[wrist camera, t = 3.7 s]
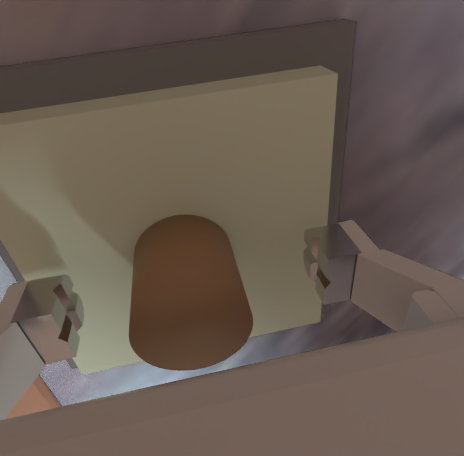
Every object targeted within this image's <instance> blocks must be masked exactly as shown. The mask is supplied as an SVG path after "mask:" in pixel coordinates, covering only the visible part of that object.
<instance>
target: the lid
mask: <svg viewBox="0 0 464 456" xmlns="http://www.w3.org/2000/svg"><path fill="white" fill-rule="evenodd" d="M337 80H338V73H336V72H333V71H331V70H329V69H327V68H325V67H323V66H321V65H319V66H313V67H306V68H299V69H293V70H286V71H279V72H273V73H266V74H259V75H253V76H246V77H239V78H233V79H226V80H220V81H213V82H206V83H200V84H193V85H186V86H180V87H173V88H166V89H160V90H153V91H146V92H140V93H133V94H126V95H120V96H113V97H107V98H100V99H93V100H87V101H80V102H73V103H67V104H60V105H53V106H47V107H40V108H33V109H27V110H20V111H14V112H7V113H0V240H1V242H2V243H3V245H4V247H5V248H6V250H7V251H8V253H9V255H10V256H11V258H12V260H13V261H14V263H15V265H16V266H17V268H18V270H19V271H20V273H21V275H22V276H23V278H24V279H25V281H31V280H35V279H41V278H47V277H53V276H59V275H65V274H66V275H68V276H69V277H70V278H71V280H72V282H73V288H72V291H73V292H75V293H77V294H78V295H79V296H80V298H81V300H82V304H83V307H84V321H83V326H82V327H81V328H80V329H79V330H78V331H77V333H78V335H79V337H80V341H79V345H78V350H77V355H76V357H74V358H73V360H74V362H75V363H76V365H77V367H78V368H79V370H80V372H81V373H82V375H85V374H89V373H94V372H98V371H103V370H107V369H112V368H116V367H121V366H125V365H130V364H134V363H139V362H143V361H145V362H147V363H149V364H151V365H153V366H156V367H159V368H163V369H169V370H194V369H200V368H204V367H208V366H211V365H214V364H217V363H219V362H221V361H223V360H225V359H227V358H229V357H230V356H232V355H233V354H234V353H236V352H237V351H238V350H239V349H240V348H241V347H242V346H243V345H244V344H245V343H246V341H247V340H248V338H251V337H256V336H260V335H265V334H269V333H274V332H278V331H283V330H287V329H292V328H296V327H301V326H305V325H310V324H314V323H319V322H320V321H321V307H322V301H321V299H320V297H319V295H318V293H317V291H316V290H315V288H316V282H314V281H312V280H310V278H309V276H308V274H307V272H306V269H305V265H304V250H305V248H306V247H307V245H306V243H305V241H304V233H305V229H310V228H315V227H321V226H326V225H327V222H328V208H329V194H330V179H331V165H332V151H333V137H334V123H335V109H336V95H337Z"/></svg>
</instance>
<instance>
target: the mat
mask: <svg viewBox="0 0 464 456" xmlns="http://www.w3.org/2000/svg"><path fill="white" fill-rule="evenodd" d="M355 31H356V21H352V20H346V19H341V20H334V21H327V22H319V23H312V24H305V25H298V26H290V27H283V28H276V29H269V30H262V31H254V32H247V33H240V34H233V35H225V36H218V37H211V38H204V39H197V40H189V41H182V42H175V43H168V44H160V45H153V46H146V47H139V48H132V49H124V50H117V51H110V52H103V53H95V54H88V55H81V56H74V57H67V58H59V59H52V60H45V61H38V62H30V63H23V64H16V65H9V66H1V67H0V113H7V112H14V111H20V110H27V109H33V108H40V107H47V106H53V105H60V104H67V103H73V102H80V101H87V100H93V99H100V98H107V97H113V96H120V95H126V94H133V93H140V92H146V91H153V90H160V89H166V88H173V87H180V86H186V85H193V84H200V83H206V82H213V81H220V80H226V79H233V78H239V77H246V76H253V75H259V74H266V73H273V72H279V71H286V70H293V69H299V68H306V67H313V66H319V65H321V66H323V67H325V68H327V69H329V70H331V71H333V72H336V73H338V80H337V95H336V109H335V123H334V137H333V151H332V165H331V179H330V194H329V208H328V222H327V225H331V224H336V223H338V216H339V205H340V194H341V183H342V173H343V162H344V151H345V140H346V129H347V118H348V107H349V96H350V85H351V74H352V64H353V53H354V42H355ZM0 255H1V257H2V258H3V260H4V262H5V263H6V265H7V266H8V268H9V270H10V271H11V273H12V274H13V276H14V278H15V279H16V281H17V282H24V281H25V279H24V278H23V276H22V275H21V273H20V271H19V270H18V268H17V266H16V265H15V263H14V261H13V260H12V258H11V256H10V255H9V253H8V251H7V250H6V248H5V247H4V245H3V243H2V242H1V240H0ZM327 312H330V304H325V305H324V304H323V302H322V307H321V314H322V313H327ZM66 360H67V362H68V364H69V365H70V367H71V368H72V369H73V368H77V365H76V363H75V362H74V360H73V358H70V359H66Z"/></svg>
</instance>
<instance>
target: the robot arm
mask: <svg viewBox="0 0 464 456" xmlns="http://www.w3.org/2000/svg"><path fill="white" fill-rule="evenodd" d="M304 241H305V243H306V245H307V247H306V248H305V250H304V265H305V269H306V272H307V274H308V276H309V278H310V280H312V281H314V282H316V288H315V290H316V291H317V293H318V295H319V297H320V299H321V301H322V302H323V304H324V305H325V304H331V303H336V302H342V301H347V300H351V302H352V303H354V304H355V305H357V306H358V307H360V308H361V309H363V310H364V311H366V312H367V313H369V314H370V315H372V316H373V317H375V318H376V319H378V320H379V321H381V322H382V323H384V324H385V325H387V326H388V327H390V328H391V329H393V330H394V331H395V332H394V333H389V334H385V335H380V336H376V337H371V338H367V339H362V340H358V341H354V342H349V343H345V344H340V345H336V346H331V347H327V348H322V349H318V350H313V351H309V352H304V353H300V354H295V355H291V356H286V357H282V358H277V359H273V360H268V361H264V362H259V363H255V364H250V365H246V366H241V367H237V368H232V369H228V370H223V371H219V372H214V373H210V374H205V375H201V376H196V377H192V378H187V379H183V380H178V381H174V382H170V383H165V384H161V385H156V386H152V387H147V388H143V389H138V390H134V391H129V392H125V393H120V394H116V395H111V396H107V397H102V398H98V399H93V400H89V401H84V402H80V403H75V404H71V405H66V406H62V407H57V408H53V409H49V410H44V411H40V412H35V413H31V414H26V415H22V416H17V417H13V418H8V419H5V418H6V416H7V415H8V414H9V413H10V411H11V410H12V409H13V407H14V406H15V405H16V404H17V402H18V401H19V400H20V398H21V397H22V396H23V394H24V393H25V392H26V391H27V389H28V388H29V387H30V385H31V384H32V383H33V382H34V380H35V379H36V378H37V376H38V375H39V374H40V372H41V371H42V370H43V369H44V367H45V364H49V363H53V362H57V361H61V360H65V359H70V358H74V357H76V355H77V350H78V345H79V341H80V337H79V335H78V333H77V331H78V330H79V329H80V328H81V327H82V326H83V321H84V307H83V304H82V300H81V298H80V296H79V295H78V294H77V293H75V292H73V291H72V288H73V282H72V280H71V278H70V277H69V276H68V275H66V274H65V275H59V276H53V277H47V278H41V279H35V280H31V281H24V282H18V283H13V284H12V285H10V286H9V287H8V289H7V291H6V293H5V295H4V297H3V299H2V302H1V304H0V456H464V281H463V280H461V279H458V278H456V277H453V276H451V275H448V274H446V273H443V272H441V271H438V270H436V269H433V268H431V267H428V266H426V265H423V264H420V263H418V262H415V261H413V260H410V259H408V258H405V257H403V256H400V255H398V254H395V253H393V252H390V251H388V250H385V249H381V250H379V249H378V248H377V246H376V245H375V244H374V243H373V242H372V241H371V240H370V238H369V237H368V236H367V235H366V234H365V233H364V232H363V230H362V229H361V228H360V227H359V226H358V225H357V224H356V222H355V221H353V220H348V221H343V222H338V223H336V224H331V225H326V226H321V227H315V228H310V229H305V233H304Z"/></svg>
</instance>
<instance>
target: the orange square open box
mask: <svg viewBox="0 0 464 456" xmlns="http://www.w3.org/2000/svg"><path fill="white" fill-rule="evenodd" d="M57 407H62V406H61V404H60V403H59V402H58V400H57V399H56V398H55V396H54V395H53V393H52V392H51V391H50V389H49V388H48V387H47V385H46V384H45V383H44V381H43V380H42V379H41V377H40V376H39V375H38V376H37V378H36V379H35V380H34V382H33V383H32V384H31V385H30V387H29V388H28V389H27V391H26V392H25V393H24V394H23V396H22V397H21V398H20V400H19V401H18V402H17V404H16V405H15V406H14V407H13V409H12V410H11V411H10V413H9V414H8V415H7V416H6V418H5V419H8V418H13V417H17V416H22V415H26V414H31V413H35V412H40V411H44V410H49V409H53V408H57Z"/></svg>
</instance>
